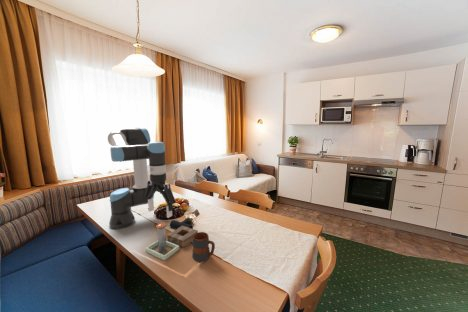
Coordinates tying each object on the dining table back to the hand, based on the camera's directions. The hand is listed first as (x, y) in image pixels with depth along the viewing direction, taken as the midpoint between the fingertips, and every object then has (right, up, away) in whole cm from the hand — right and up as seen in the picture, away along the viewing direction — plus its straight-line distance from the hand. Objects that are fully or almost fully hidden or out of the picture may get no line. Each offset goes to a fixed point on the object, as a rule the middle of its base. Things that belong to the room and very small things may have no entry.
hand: (160, 213), depth 99 cm
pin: (0, -21, +3) cm, 21 cm away
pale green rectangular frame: (0, -21, +3) cm, 21 cm away
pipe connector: (+6, -18, +28) cm, 34 cm away
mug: (+23, -22, -2) cm, 32 cm away
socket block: (+8, -20, +13) cm, 25 cm away
